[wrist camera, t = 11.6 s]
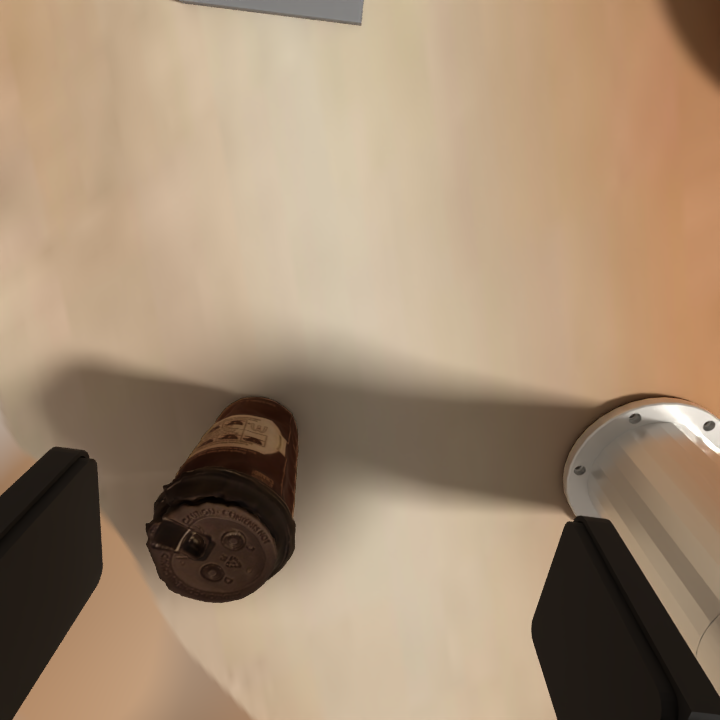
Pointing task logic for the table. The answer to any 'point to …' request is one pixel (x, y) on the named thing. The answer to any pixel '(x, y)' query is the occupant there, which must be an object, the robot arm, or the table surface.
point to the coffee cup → (230, 506)
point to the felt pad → (295, 8)
